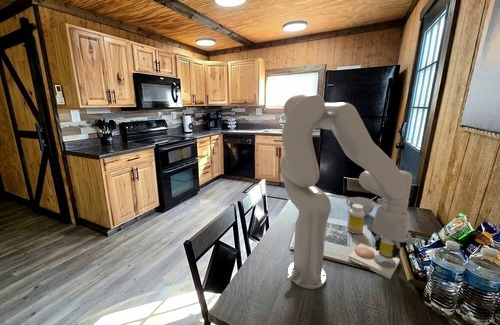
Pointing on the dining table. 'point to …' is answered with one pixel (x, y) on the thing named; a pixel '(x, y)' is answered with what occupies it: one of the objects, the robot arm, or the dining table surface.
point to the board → (374, 260)
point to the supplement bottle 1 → (356, 219)
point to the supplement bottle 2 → (386, 248)
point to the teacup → (365, 202)
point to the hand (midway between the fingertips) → (386, 252)
